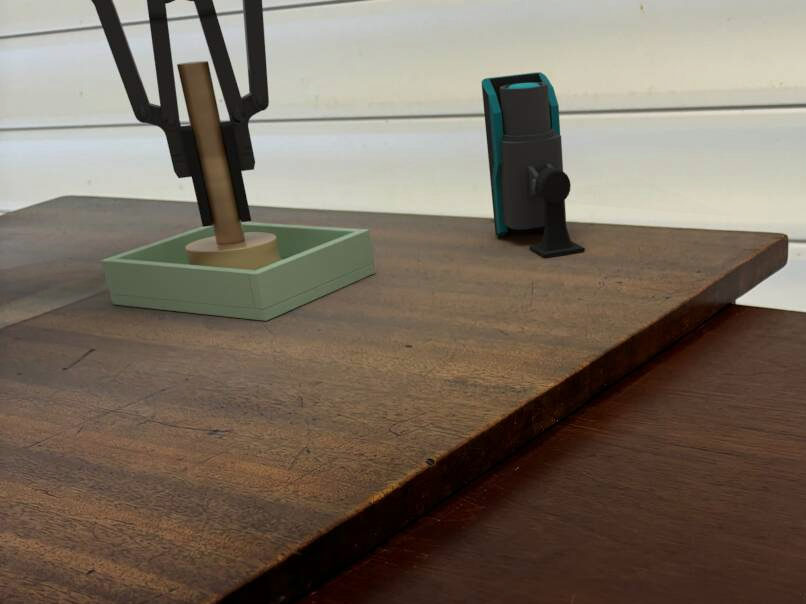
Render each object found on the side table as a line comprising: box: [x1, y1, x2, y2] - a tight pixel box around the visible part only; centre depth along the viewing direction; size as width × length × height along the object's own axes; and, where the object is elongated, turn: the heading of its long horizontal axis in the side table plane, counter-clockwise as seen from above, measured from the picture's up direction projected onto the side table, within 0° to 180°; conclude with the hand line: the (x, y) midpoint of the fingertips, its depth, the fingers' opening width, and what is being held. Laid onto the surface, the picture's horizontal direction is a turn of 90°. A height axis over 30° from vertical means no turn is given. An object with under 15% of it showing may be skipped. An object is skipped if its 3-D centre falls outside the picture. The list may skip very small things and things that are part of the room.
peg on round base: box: [176, 60, 281, 270], centre depth 88 cm, size 7×7×15 cm
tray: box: [100, 221, 376, 322], centre depth 92 cm, size 16×14×3 cm
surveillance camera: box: [481, 71, 586, 259], centre depth 96 cm, size 6×12×10 cm
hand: (226, 219), depth 90 cm, fingers closed on peg on round base, 2 cm apart
